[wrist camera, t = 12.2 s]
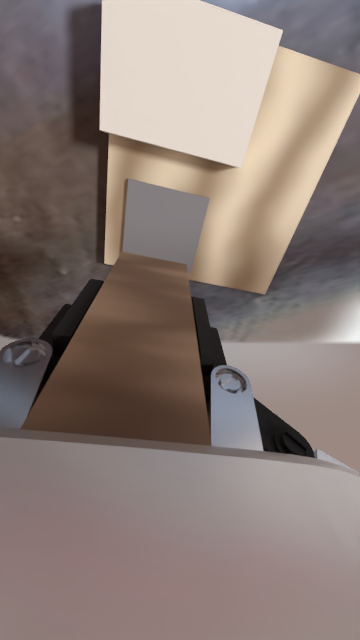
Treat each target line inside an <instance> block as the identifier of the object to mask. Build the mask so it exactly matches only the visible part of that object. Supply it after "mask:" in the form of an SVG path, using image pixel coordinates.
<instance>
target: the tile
mask: <svg viewBox="0 0 360 640" xmlns="http://www.w3.org/2000/svg"><path fill="white" fill-rule="evenodd" d="M282 32H283V30H281V29H278V28H275V27H272V26H270V25H267V24H264V23H261V22H258V21H256V20H253V19H250V18H247V17H245V16H242V15H239V14H236V13H234V12H231V11H228V10H225V9H223V8H220V7H217V6H214V5H211V4H209V3H206V2H203V1H200V0H102V27H101V80H100V130H101V131H103V132H105V133H109V134H113V135H116V136H120V137H124V138H127V139H131V140H135V141H139V142H142V143H146V144H150V145H154V146H157V147H161V148H165V149H169V150H172V151H176V152H180V153H184V154H187V155H191V156H195V157H199V158H202V159H206V160H210V161H214V162H217V163H221V164H225V165H229V166H232V167H236V168H241V167H242V164H243V161H244V158H245V154H246V151H247V148H248V144H249V141H250V138H251V134H252V131H253V128H254V125H255V121H256V118H257V115H258V111H259V108H260V105H261V101H262V98H263V95H264V92H265V88H266V85H267V82H268V78H269V75H270V72H271V69H272V65H273V62H274V59H275V55H276V52H277V49H278V45H279V42H280V39H281V36H282Z"/></svg>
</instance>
